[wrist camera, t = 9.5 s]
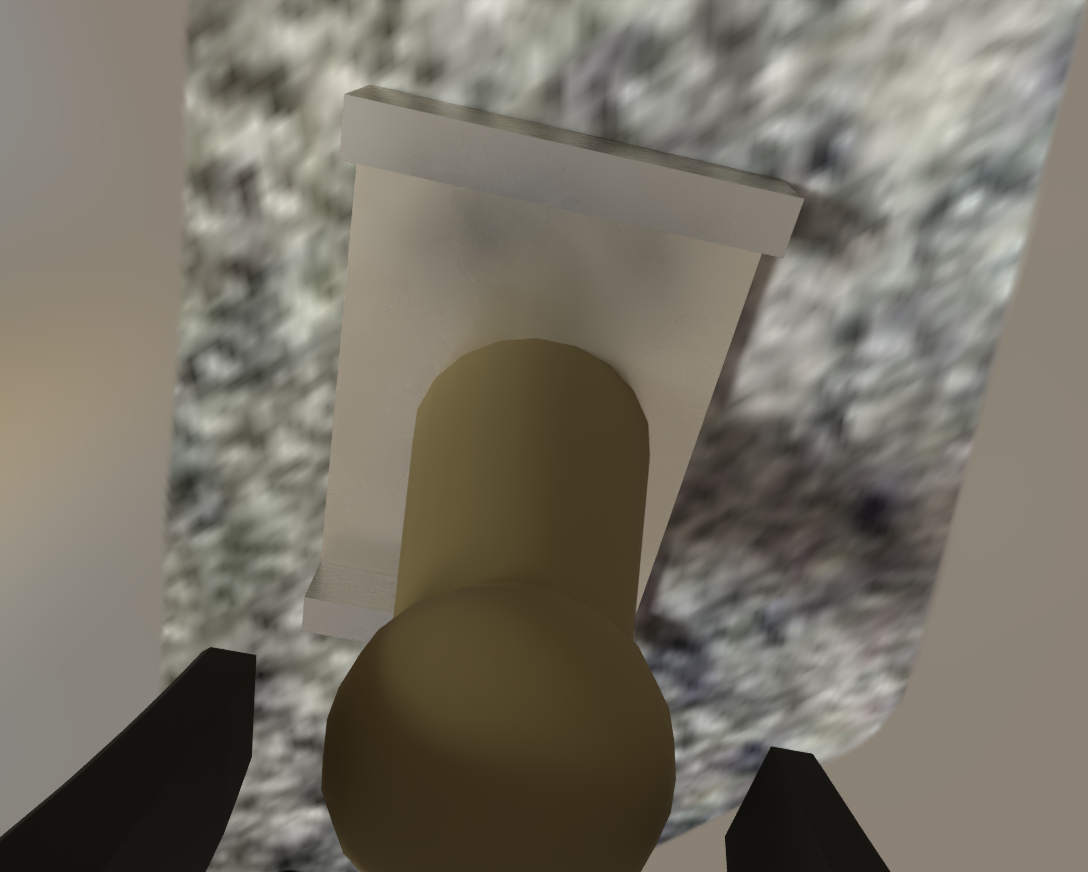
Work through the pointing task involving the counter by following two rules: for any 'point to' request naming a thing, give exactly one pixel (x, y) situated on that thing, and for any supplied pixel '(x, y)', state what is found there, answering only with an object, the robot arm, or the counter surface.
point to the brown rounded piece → (510, 636)
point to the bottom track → (520, 300)
